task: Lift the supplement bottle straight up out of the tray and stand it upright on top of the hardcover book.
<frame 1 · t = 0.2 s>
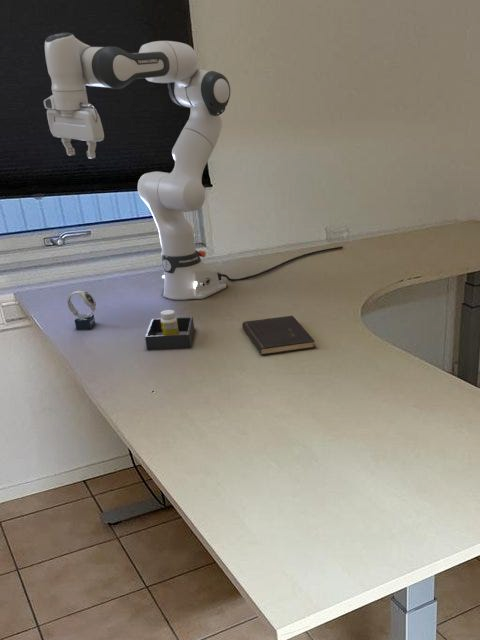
hand: (81, 156, 212), 48 cm above the table, tool pointing down, fingers open, 8 cm apart
tray: (171, 339, 221), on the table
supplement bottle: (171, 340, 221), resting in tray
hardcover book: (277, 339, 221), on the table
watch: (86, 327, 231), on the table
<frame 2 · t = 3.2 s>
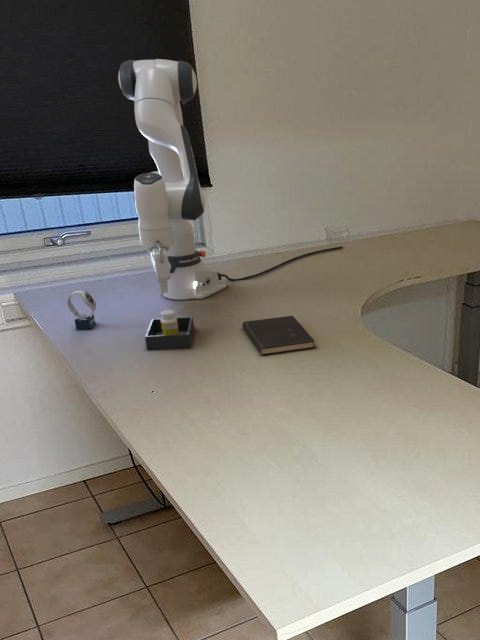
hand: (163, 287, 212), 16 cm above the table, tool pointing down, fingers open, 8 cm apart
nothing on the table moved.
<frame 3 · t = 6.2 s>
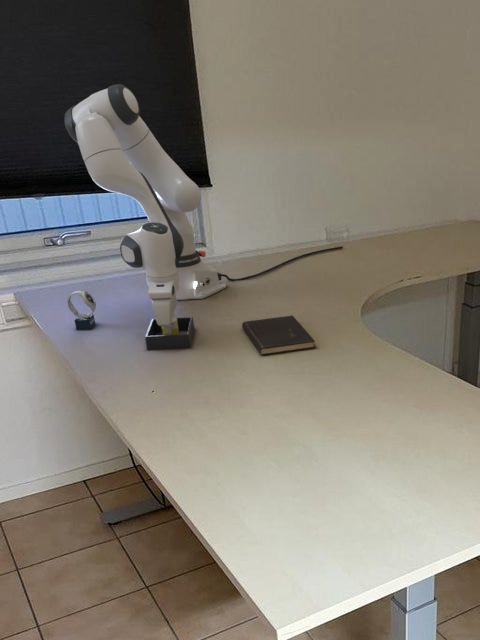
hand: (170, 330, 219), 3 cm above the table, tool pointing down, fingers closed on supplement bottle, 5 cm apart
supplement bottle: (171, 340, 221), resting in tray, touching gripper
everything else where it was.
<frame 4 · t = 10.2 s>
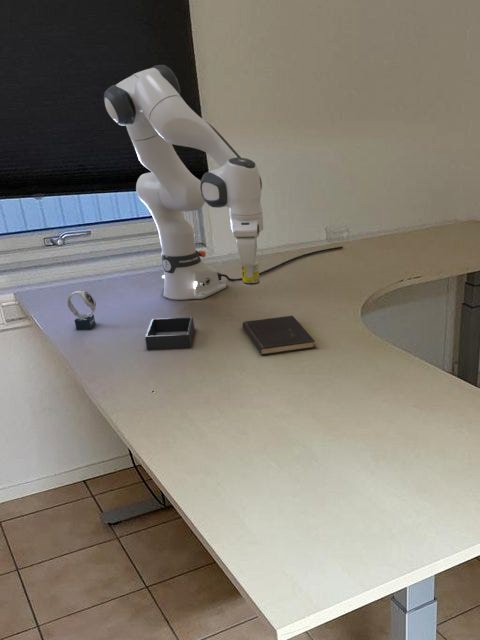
hand: (250, 274, 210), 19 cm above the table, tool pointing down, fingers closed on supplement bottle, 5 cm apart
supplement bottle: (251, 285, 212), point 16 cm above the table, touching gripper
everything else where it was.
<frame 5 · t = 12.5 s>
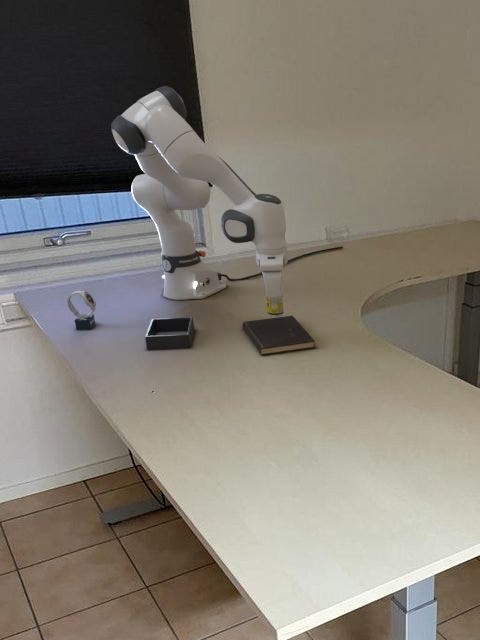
hand: (274, 304, 215), 10 cm above the table, tool pointing down, fingers closed on supplement bottle, 5 cm apart
supplement bottle: (275, 315, 217), point 7 cm above the table, touching gripper
everything else where it was.
when the fingers open (5 cm above the table, at t = 14.2 s): supplement bottle stays where it is, resting on hardcover book.
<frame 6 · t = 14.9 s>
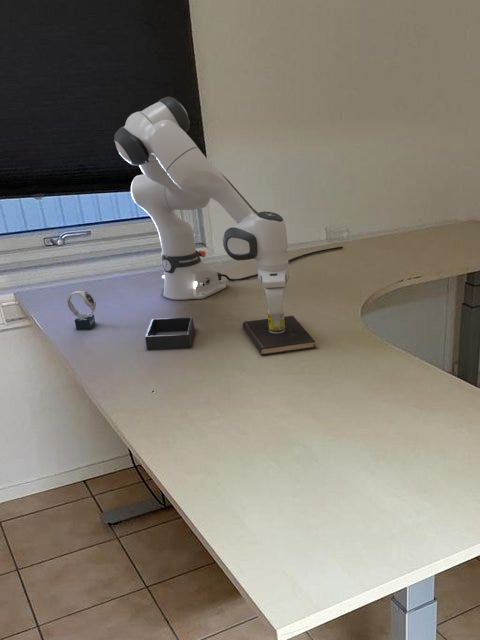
hand: (276, 320, 218), 6 cm above the table, tool pointing down, fingers open, 8 cm apart
supplement bottle: (277, 331, 220), point 2 cm above the table, touching hardcover book
hardcover book: (278, 339, 221), on the table, touching supplement bottle
everything else where it was.
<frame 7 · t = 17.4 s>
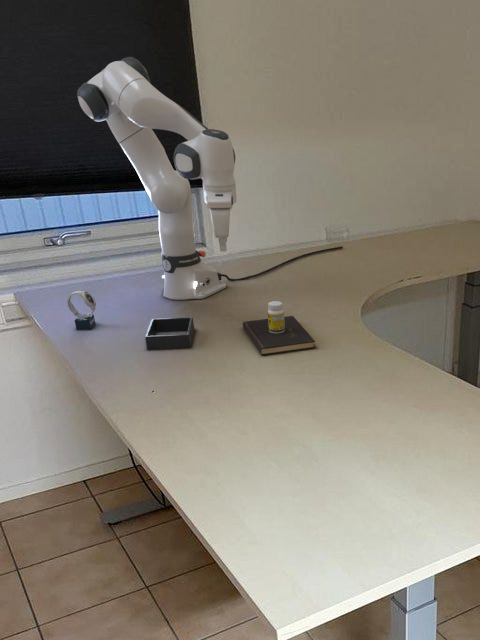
hand: (223, 246, 212), 26 cm above the table, tool pointing down, fingers open, 8 cm apart
nothing on the table moved.
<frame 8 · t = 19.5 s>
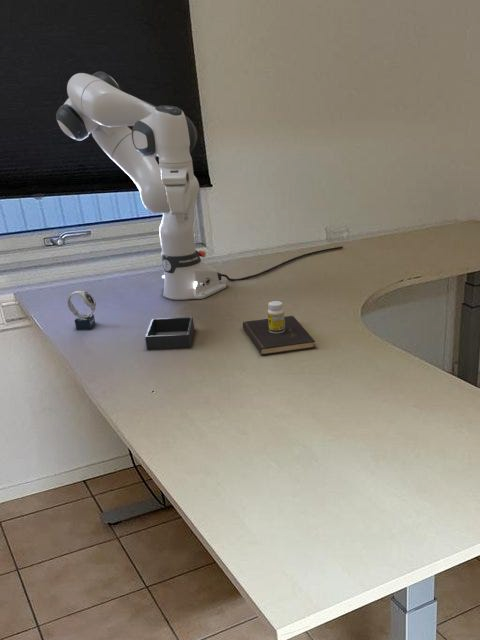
hand: (183, 224, 211), 31 cm above the table, tool pointing down, fingers open, 8 cm apart
nothing on the table moved.
at the end: supplement bottle inside the target area (0.1 cm from its centre), point 2.1 cm above the table; supplement bottle tilted 0°; the gripper is holding nothing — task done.
